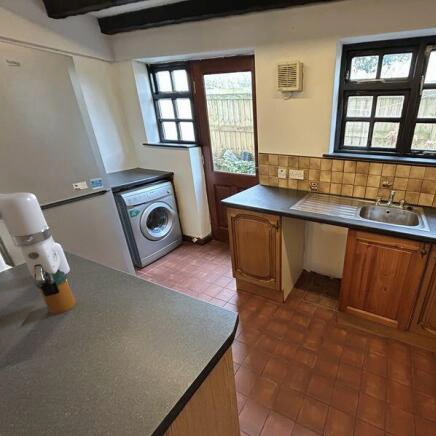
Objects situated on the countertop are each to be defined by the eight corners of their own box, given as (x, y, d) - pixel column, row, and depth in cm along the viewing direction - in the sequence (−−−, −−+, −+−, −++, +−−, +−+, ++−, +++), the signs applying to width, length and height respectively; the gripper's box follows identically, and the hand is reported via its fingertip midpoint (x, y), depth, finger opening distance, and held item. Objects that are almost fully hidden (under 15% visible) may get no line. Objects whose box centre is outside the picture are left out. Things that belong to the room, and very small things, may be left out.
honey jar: (46, 316, 74) (32, 288, 70) (53, 303, 80) (41, 276, 76) (72, 310, 77) (61, 282, 73) (78, 297, 82) (67, 271, 78)
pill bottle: (51, 282, 89) (36, 246, 84) (37, 277, 92) (21, 242, 86) (75, 270, 96) (62, 236, 91) (61, 266, 99) (48, 233, 93)
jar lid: (35, 282, 74) (33, 277, 73) (64, 273, 79) (62, 268, 78) (38, 292, 70) (36, 287, 70) (69, 281, 75) (67, 276, 74)
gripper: (44, 245, 64) (66, 299, 71) (55, 223, 77) (73, 270, 84) (2, 253, 60) (31, 309, 67) (21, 228, 73) (43, 277, 80)
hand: (54, 287), depth 75 cm, fingers closed on jar lid, 6 cm apart
